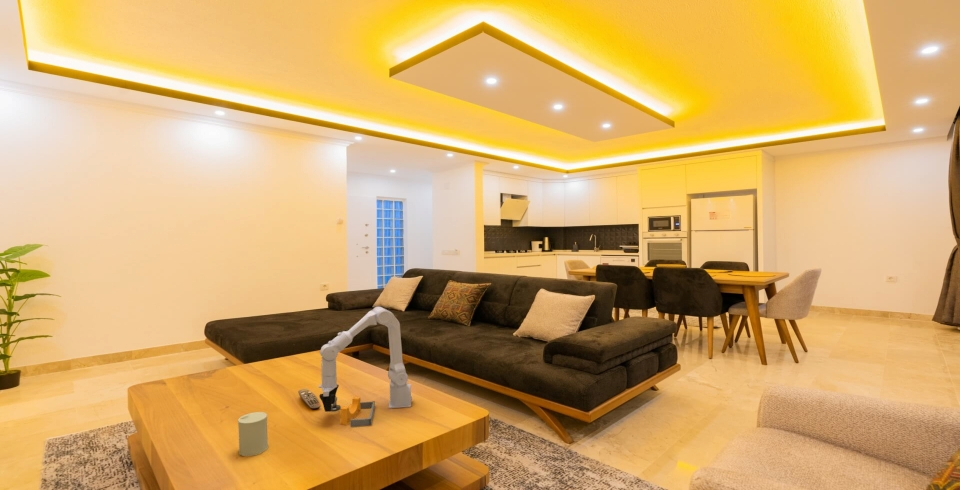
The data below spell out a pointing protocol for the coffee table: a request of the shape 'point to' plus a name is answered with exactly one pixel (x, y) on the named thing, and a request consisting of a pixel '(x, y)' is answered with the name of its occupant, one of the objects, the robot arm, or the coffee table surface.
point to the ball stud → (335, 406)
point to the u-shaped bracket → (367, 420)
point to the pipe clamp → (350, 411)
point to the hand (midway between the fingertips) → (329, 407)
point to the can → (253, 434)
